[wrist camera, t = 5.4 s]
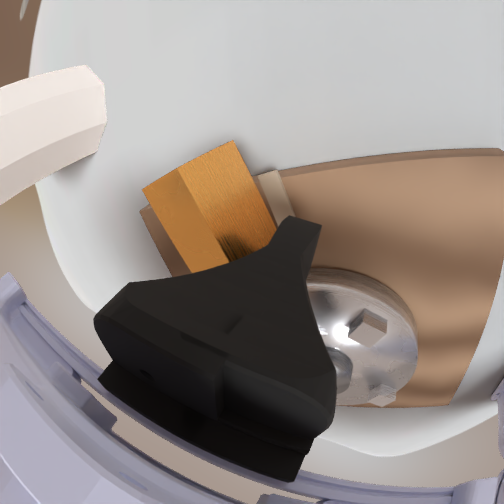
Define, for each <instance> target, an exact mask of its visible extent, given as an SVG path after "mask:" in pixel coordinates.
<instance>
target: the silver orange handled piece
mask: <svg viewBox="0 0 504 504" xmlns="http://www.w3.org/2000/svg"><path fill="white" fill-rule="evenodd" d="M142 191H143V192H144V194H145V196H146V198H147V200H148V201H149V203H150V205H151V207H152V208H153V210H154V212H155V213H156V215H157V217H158V219H159V220H160V222H161V224H162V225H163V227H164V229H165V230H166V232H167V234H168V235H169V237H170V239H171V240H172V242H173V244H174V245H175V247H176V249H177V250H178V252H179V253H180V255H181V257H182V258H183V260H184V261H185V263H186V265H187V266H188V268H189V269H190V271H191V272H192V273H195V272H199V271H203V270H207V269H210V268H213V267H216V266H220V265H223V264H226V263H229V262H232V261H235V260H237V259H240V258H242V257H244V256H247V255H249V254H251V253H253V252H255V251H257V250H259V249H261V248H263V247H265V246H266V245H268V243H269V242H270V240H271V238H272V237H273V235H274V233H275V232H276V230H277V228H276V226H275V224H274V222H273V220H272V218H271V216H270V214H269V212H268V210H267V207H266V205H265V203H264V201H263V199H262V197H261V195H260V193H259V191H258V189H257V187H256V185H255V183H254V181H253V179H252V177H251V175H250V173H249V171H248V169H247V167H246V165H245V163H244V161H243V159H242V157H241V155H240V153H239V151H238V149H237V147H236V145H235V143H234V141H233V140H232V141H230V142H228V143H226V144H224V145H222V146H219V147H217V148H215V149H213V150H211V151H209V152H207V153H205V154H203V155H201V156H199V157H197V158H195V159H193V160H191V161H189V162H188V163H186V164H184V165H182V166H180V167H178V168H176V169H175V170H173V171H171V172H170V173H168V174H166V175H165V176H163V177H161V178H160V179H158V180H156V181H155V182H153V183H151V184H150V185H148V186H147V187H145V188H144V189H142ZM306 284H307V289H308V294H309V298H310V302H311V306H312V309H313V312H314V315H315V318H316V322H317V325H318V328H319V331H320V333H321V336H322V338H323V341H324V344H325V346H326V348H327V351H328V353H329V355H330V357H331V360H332V362H333V364H334V366H335V368H336V375H337V398H336V405H357V404H364V403H372V404H375V405H378V406H380V407H383V406H385V405H387V404H389V403H391V402H393V401H395V399H396V392H397V391H398V390H400V389H401V388H402V387H403V386H405V385H406V384H407V383H408V381H409V380H410V379H411V378H412V376H413V374H414V372H415V370H416V367H417V361H418V333H417V325H416V321H415V318H414V316H413V314H412V312H411V310H410V309H409V307H408V306H407V304H406V303H405V302H404V301H403V300H402V299H401V298H400V297H399V296H398V295H397V294H396V293H395V292H393V291H392V290H391V289H389V288H388V287H386V286H385V285H383V284H381V283H379V282H377V281H375V280H373V279H371V278H369V277H366V276H363V275H360V274H357V273H353V272H349V271H344V270H338V269H329V268H310V271H309V274H308V276H307V279H306Z"/></svg>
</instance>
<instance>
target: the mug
mask: <svg viewBox="0 0 504 504" xmlns="http://www.w3.org/2000/svg"><path fill="white" fill-rule="evenodd" d="M106 124H107V113H106V102H105V88H104V83H103V82H102V81H101V80H100V79H99V78H98V77H97V76H96V74H95V73H94V72H93V71H92V70H91V69H90V68H89V67H88V66H87V65H82V66H76V67H71V68H66V69H61V70H57V71H52V72H48V73H44V74H41V75H37V76H33V77H30V78H27V79H24V80H20V81H17V82H14V83H12V84H9V85H6V86H3V87H1V88H0V205H1V204H3V203H4V202H6V201H7V200H9V199H10V198H12V197H13V196H15V195H16V194H18V193H20V192H21V191H23V190H24V189H26V188H27V187H29V186H31V185H33V184H34V183H36V182H38V181H40V180H41V179H43V178H45V177H47V176H49V175H50V174H52V173H54V172H56V171H58V170H60V169H62V168H64V167H66V166H68V165H70V164H72V163H74V162H76V161H78V160H80V159H82V158H84V157H86V156H88V155H91V154H93V153H95V152H97V150H98V147H99V144H100V141H101V138H102V135H103V133H104V130H105V127H106Z"/></svg>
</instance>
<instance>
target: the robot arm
mask: <svg viewBox="0 0 504 504" xmlns="http://www.w3.org/2000/svg"><path fill="white" fill-rule="evenodd" d="M321 228H322V225H320V224H317V223H313V222H310V221H307V220H304V219H300V218H297V217H294V216H290V215H289V216H288V217H286V218H285V219H284V220H283V221H282V222H281V223H280V225H279V227H278V228H277V230H276V232H275V233H274V235H273V237H272V238H271V240H270V242H269V243H268V245H266V246H265V247H263V248H261V249H259V250H257V251H255V252H253V253H251V254H249V255H247V256H244V257H242V258H240V259H237V260H235V261H232V262H229V263H226V264H223V265H220V266H216V267H213V268H210V269H207V270H203V271H199V272H195V273H191V274H186V275H181V276H176V277H171V278H165V279H157V280H148V281H140V282H129V283H128V284H127V285H126V286H125V287H124V288H122V289H121V290H120V291H119V292H118V293H117V294H116V295H115V296H114V297H113V298H112V299H111V300H110V301H109V302H108V303H107V304H106V305H105V306H104V307H103V308H102V309H101V310H100V311H99V312H98V313H97V314H96V315H95V317H94V327H95V330H96V332H97V334H98V336H99V338H100V340H101V341H102V343H103V345H104V347H105V348H106V350H107V351H108V353H109V355H110V356H111V358H112V360H113V361H112V362H111V363H110V364H109V365H108V367H107V368H106V369H105V370H103V369H102V368H100V367H99V366H98V365H97V364H95V363H94V362H93V361H91V360H90V359H89V358H88V357H87V356H86V355H84V354H83V353H82V352H81V351H80V350H79V349H77V348H76V347H75V346H74V345H73V344H72V343H71V342H69V341H68V340H67V339H66V338H65V337H64V336H63V335H62V334H61V333H60V332H59V331H58V330H57V329H56V328H55V327H53V325H52V324H51V323H50V322H49V321H47V320H46V318H45V317H44V316H43V315H42V314H41V313H40V312H39V311H38V310H37V309H36V308H35V307H34V306H33V305H32V304H31V302H30V301H29V300H28V299H27V297H26V294H25V293H24V291H23V289H22V288H21V286H20V285H19V283H18V282H17V280H16V279H15V278H14V277H13V275H12V274H11V273H10V272H7V273H6V274H5V275H4V276H3V277H2V278H1V279H0V504H246V503H244V502H241V501H239V500H236V499H234V498H231V497H228V496H226V495H224V494H221V493H219V492H216V491H214V490H212V489H210V488H208V487H206V486H203V485H201V484H199V483H197V482H195V481H193V480H191V479H189V478H187V477H185V476H183V475H181V474H179V473H177V472H176V471H174V470H172V469H170V468H169V467H167V466H165V465H163V464H161V463H160V462H158V461H156V460H155V459H153V458H152V457H150V456H148V455H147V454H145V453H144V452H142V451H141V450H139V449H138V448H136V447H134V446H133V445H132V444H130V443H129V442H127V441H126V440H124V439H123V438H122V437H120V436H119V435H118V434H116V433H115V432H114V431H112V429H111V428H112V427H113V425H114V424H115V422H116V421H117V417H116V416H114V415H113V414H112V413H111V412H110V411H108V410H107V409H106V408H105V407H104V406H103V405H102V404H101V403H100V402H99V401H97V399H96V398H95V397H94V396H93V395H92V394H91V393H90V392H89V391H88V390H86V389H85V388H84V387H83V386H82V385H81V379H83V380H84V381H85V382H86V383H87V384H88V385H90V386H91V387H92V388H93V389H94V390H95V391H97V392H98V393H99V394H100V395H102V396H103V397H104V398H105V399H107V400H108V401H109V402H110V403H112V404H113V405H114V406H116V407H117V408H118V409H120V410H121V411H123V412H124V413H125V414H127V415H128V416H130V417H131V418H133V419H134V420H135V421H137V422H138V423H140V424H141V425H143V426H144V427H146V428H148V429H149V430H151V431H152V432H154V433H155V434H157V435H159V436H160V437H162V438H164V439H165V440H167V441H169V442H170V443H172V444H174V445H176V446H178V447H180V448H181V449H183V450H185V451H187V452H189V453H191V454H193V455H195V456H197V457H199V458H201V459H203V460H205V461H207V462H209V463H211V464H213V465H216V466H218V467H220V468H222V469H225V470H227V471H229V472H232V473H234V474H237V475H239V476H242V477H244V478H247V479H250V480H252V481H256V482H258V483H261V484H264V485H267V486H270V487H273V488H277V489H280V490H283V491H287V492H290V493H295V494H298V495H302V496H306V497H311V498H315V499H320V500H321V501H318V502H317V503H312V502H307V501H302V500H297V499H292V498H288V497H284V496H280V495H276V494H271V495H266V494H263V495H261V496H260V498H259V500H258V502H257V504H504V469H503V470H502V471H501V472H500V474H499V476H498V477H491V478H485V479H477V480H472V481H469V482H465V483H462V484H459V485H457V486H455V487H432V488H431V487H429V488H427V487H398V486H385V485H376V484H368V483H361V482H354V481H349V480H343V479H337V478H333V477H328V476H323V475H320V474H315V473H311V472H307V471H304V470H300V467H301V464H302V462H303V459H304V457H305V455H307V454H308V453H309V451H310V448H311V446H312V443H313V440H314V438H316V437H317V436H318V435H320V434H321V433H322V432H324V431H325V430H326V429H328V428H329V426H330V425H331V423H332V421H333V418H334V413H335V407H336V398H337V375H336V368H335V366H334V364H333V362H332V360H331V357H330V355H329V353H328V351H327V348H326V346H325V344H324V341H323V338H322V336H321V333H320V331H319V328H318V325H317V322H316V318H315V315H314V312H313V309H312V306H311V302H310V298H309V294H308V289H307V284H306V279H307V276H308V274H309V271H310V268H311V264H312V261H313V257H314V254H315V250H316V247H317V243H318V239H319V236H320V232H321ZM491 400H492V401H493V400H498V419H499V439H498V445H499V451H500V454H501V456H502V457H503V458H504V378H503V380H502V381H501V383H500V384H499V386H498V387H497V389H496V390H495V392H494V393H493V395H492V396H491Z"/></svg>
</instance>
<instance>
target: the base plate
mask: <svg viewBox="0 0 504 504" xmlns="http://www.w3.org/2000/svg"><path fill="white" fill-rule="evenodd" d="M252 179H253V181H254V183H255V185H256V187H257V189H258V191H259V193H260V195H261V197H262V199H263V201H264V203H265V205H266V207H267V210H268V212H269V214H270V216H271V218H272V220H273V222H274V224H275V226H276V228H278V227H279V225H280V223H281V222H282V221H283V220H284V219H285V218H286V217H288V216H289V215H290V216H294V217H297V218H300V219H304V220H307V221H310V222H313V223H317V224H320V225H322V228H321V232H320V236H319V239H318V243H317V247H316V250H315V254H314V257H313V261H312V264H311V268H329V269H338V270H344V271H349V272H353V273H357V274H360V275H363V276H366V277H369V278H371V279H373V280H375V281H377V282H379V283H381V284H383V285H385V286H386V287H388V288H389V289H391V290H392V291H393V292H395V293H396V294H397V295H398V296H399V297H400V298H401V299H402V300H403V301H404V302H405V303H406V304H407V306H408V307H409V309H410V310H411V312H412V314H413V316H414V318H415V321H416V325H417V333H418V361H417V367H416V370H415V372H414V374H413V376H412V378H411V379H410V380H409V381H408V383H407V384H406V385H405V386H403V387H402V388H401V389H400V390H398V391H397V392H396V399H395V401H393V402H391V403H389V404H387V405H385V406H383V407H380V406H378V405H375V404H372V403H364V404H357V405H339V406H353V407H377V408H408V407H430V406H443V405H449V403H450V401H451V399H452V398H453V396H454V394H455V392H456V390H457V388H458V387H459V385H460V383H461V381H462V379H463V377H464V375H465V373H466V371H467V369H468V366H469V364H470V362H471V360H472V358H473V355H474V353H475V351H476V348H477V346H478V343H479V341H480V338H481V336H482V333H483V330H484V328H485V325H486V322H487V319H488V316H489V313H490V310H491V307H492V303H493V300H494V297H495V293H496V289H497V286H498V282H499V277H500V273H501V269H502V264H503V259H504V151H502V150H501V149H499V148H478V149H447V150H430V151H416V152H404V153H394V154H385V155H376V156H368V157H360V158H352V159H345V160H338V161H332V162H325V163H319V164H313V165H308V166H302V167H296V168H291V169H286V170H281V171H278V170H274V171H270V172H267V173H264V174H260V175H256V176H252ZM139 212H140V214H141V216H142V218H143V220H144V222H145V224H146V226H147V228H148V230H149V232H150V234H151V237H152V238H153V240H154V242H155V244H156V246H157V248H158V250H159V252H160V254H161V256H162V258H163V260H164V262H165V264H166V265H167V267H168V269H169V271H170V273H171V275H172V277H176V276H181V275H186V274H191V273H192V272H191V271H190V269H189V268H188V266H187V265H186V263H185V261H184V260H183V258H182V257H181V255H180V253H179V252H178V250H177V249H176V247H175V245H174V244H173V242H172V240H171V239H170V237H169V235H168V234H167V232H166V230H165V229H164V227H163V225H162V224H161V222H160V220H159V219H158V217H157V215H156V213H155V212H154V210H153V208H152V207H151V205H150V204H149V205H148V206H146V207H145V208H143V209H142V210H140V211H139Z"/></svg>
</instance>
